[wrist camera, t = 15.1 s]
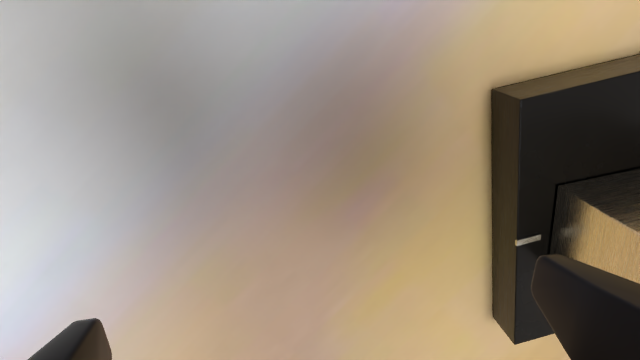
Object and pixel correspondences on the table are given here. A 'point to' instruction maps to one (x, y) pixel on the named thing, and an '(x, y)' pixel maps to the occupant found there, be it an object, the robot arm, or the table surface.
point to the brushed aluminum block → (600, 223)
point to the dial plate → (552, 169)
